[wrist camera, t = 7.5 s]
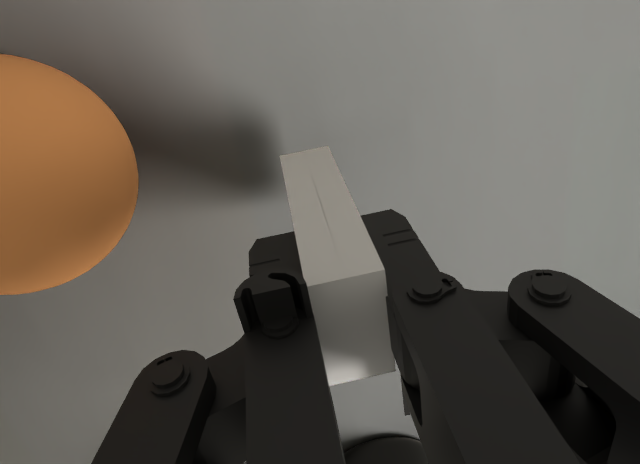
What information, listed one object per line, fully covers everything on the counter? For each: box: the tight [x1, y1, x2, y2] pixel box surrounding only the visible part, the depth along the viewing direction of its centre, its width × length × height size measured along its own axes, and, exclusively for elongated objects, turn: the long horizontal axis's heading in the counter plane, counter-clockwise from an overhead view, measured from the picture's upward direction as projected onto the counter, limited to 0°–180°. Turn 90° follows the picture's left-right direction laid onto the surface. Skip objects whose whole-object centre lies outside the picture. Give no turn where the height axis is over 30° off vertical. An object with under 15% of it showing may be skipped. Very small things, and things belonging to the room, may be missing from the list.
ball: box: [0, 54, 139, 295], centre depth 12 cm, size 6×6×6 cm
